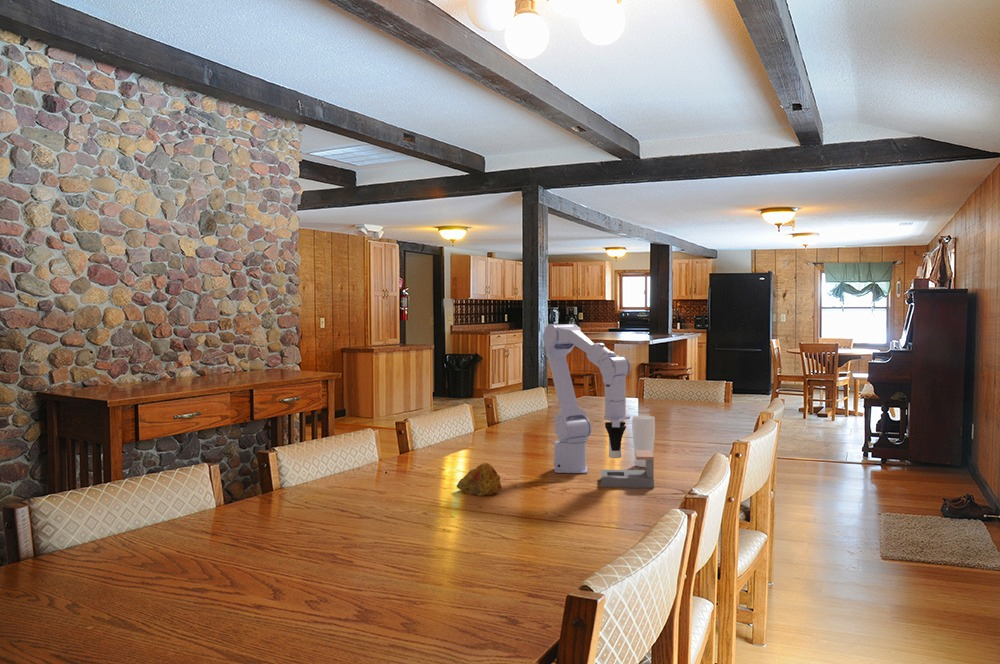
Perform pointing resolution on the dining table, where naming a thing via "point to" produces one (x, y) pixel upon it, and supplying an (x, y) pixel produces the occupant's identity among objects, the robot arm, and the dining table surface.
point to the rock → (481, 481)
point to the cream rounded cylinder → (643, 435)
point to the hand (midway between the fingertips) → (615, 449)
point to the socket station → (631, 474)
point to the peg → (614, 452)
